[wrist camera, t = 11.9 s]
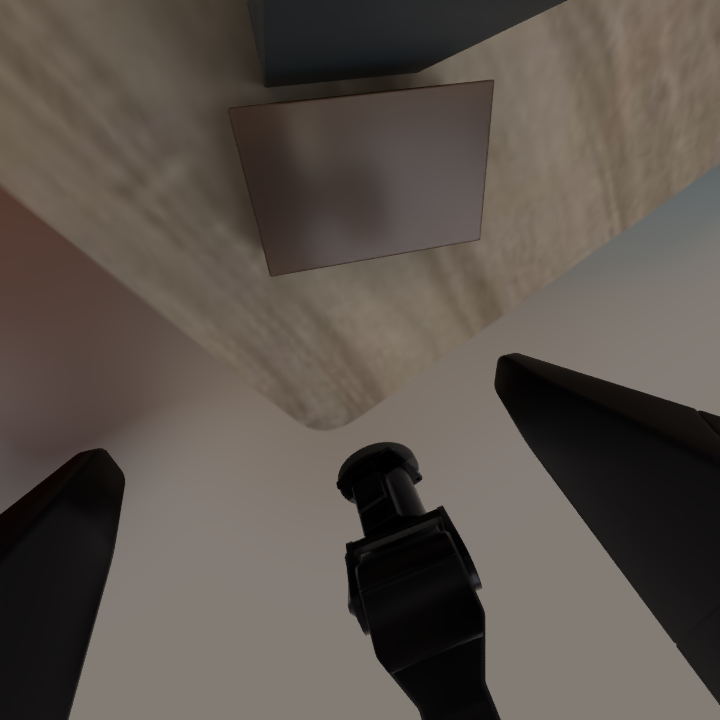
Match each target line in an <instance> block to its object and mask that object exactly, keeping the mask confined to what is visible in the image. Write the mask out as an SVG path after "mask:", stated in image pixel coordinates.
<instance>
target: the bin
mask: <svg viewBox="0 0 720 720" xmlns="http://www.w3.org/2000/svg"><path fill="white" fill-rule="evenodd" d="M565 1H567V0H247V2H248V7H249V12H250V17H251V22H252V27H253V32H254V37H255V42H256V47H257V52H258V57H259V60H260V66H261V71H262V76H263V81H264V86H265V87H266V88H268V87H278V86H288V85H298V84H308V83H318V82H327V81H337V80H347V79H357V78H367V77H377V76H387V75H397V74H407V73H417V72H420V71H422V70H424V69H426V68H428V67H430V66H432V65H434V64H436V63H438V62H440V61H442V60H444V59H446V58H449V57H451V56H453V55H455V54H457V53H459V52H461V51H463V50H465V49H467V48H469V47H471V46H473V45H475V44H478V43H480V42H482V41H484V40H486V39H488V38H490V37H492V36H494V35H496V34H498V33H500V32H502V31H504V30H507V29H509V28H511V27H513V26H515V25H517V24H519V23H521V22H523V21H525V20H527V19H529V18H531V17H533V16H536V15H538V14H540V13H542V12H544V11H546V10H548V9H550V8H552V7H554V6H556V5H558V4H560V3H562V2H565Z"/></svg>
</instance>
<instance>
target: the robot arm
mask: <svg viewBox="0 0 720 720" xmlns="http://www.w3.org/2000/svg"><path fill="white" fill-rule="evenodd" d="M494 383H495V384H494V385H495V389H496V392H497V394H498V396H499V397H500V399H501V401H502V403H503V404H504V406H505V408H506V409H507V411H508V413H509V415H510V416H511V418H512V420H513V421H514V423H515V425H516V427H517V428H518V430H519V432H520V433H521V435H522V437H523V438H524V440H525V441H526V443H527V444H528V446H529V447H530V448H531V450H532V451H533V452H534V454H535V455H536V457H537V458H538V459H539V461H540V462H541V464H542V465H543V466H544V468H545V469H546V470H547V472H548V473H549V474H550V475H551V477H552V478H553V480H554V481H555V482H556V484H557V485H558V486H559V488H560V489H561V490H562V492H563V493H564V495H565V496H566V497H567V499H568V500H569V501H570V503H571V504H572V505H573V507H574V508H575V509H576V511H577V512H578V514H579V515H580V516H581V518H582V519H583V520H584V522H585V523H586V524H587V526H588V527H589V528H590V530H591V531H592V532H593V534H594V535H595V536H596V538H597V539H598V540H599V542H600V543H601V544H602V546H603V547H604V549H605V550H606V551H607V553H608V554H609V555H610V557H611V558H612V560H613V561H614V562H615V564H616V565H617V566H618V568H619V569H620V570H621V572H622V573H623V574H624V575H625V577H626V578H627V580H628V581H629V582H630V584H631V585H632V587H633V588H634V589H635V590H636V592H637V593H638V594H639V596H640V597H641V599H642V600H643V601H644V603H645V604H646V605H647V607H648V608H649V609H650V611H651V612H652V614H653V615H654V616H655V618H656V619H657V620H658V622H659V623H660V624H661V626H662V627H663V628H664V630H665V631H666V633H667V634H668V635H669V636H670V638H671V639H672V641H673V642H674V643H676V646H677V648H678V649H679V650H680V652H681V653H682V655H683V656H684V657H685V658H686V660H687V661H688V663H689V664H690V665H691V667H692V668H693V669H694V671H695V672H696V674H697V675H698V676H699V678H700V679H701V680H702V682H703V683H704V684H705V686H706V687H707V688H708V690H709V691H710V692H711V694H712V695H713V697H714V698H715V699H716V701H717V702H718V703H719V705H720V416H716V415H713V414H710V413H707V412H704V411H697V410H695V409H694V408H690V407H688V406H684V405H681V404H678V403H675V402H672V401H668V400H665V399H662V398H659V397H656V396H652V395H649V394H646V393H643V392H640V391H637V390H633V389H630V388H627V387H624V386H621V385H617V384H614V383H611V382H608V381H605V380H602V379H598V378H595V377H592V376H589V375H586V374H582V373H579V372H576V371H573V370H570V369H567V368H563V367H560V366H557V365H554V364H551V363H547V362H544V361H541V360H538V359H535V358H532V357H528V356H525V355H522V354H519V353H512V354H507V355H503V356H501V357H500V358H499V359H498V362H497V368H496V375H495V382H494ZM387 452H388V453H387ZM421 480H422V476H421V474H420V473H419V472H418V471H417V470H416V469H415V468H414V467H413V466H412V465H411V464H410V463H408V462H407V461H406V460H405V459H404V458H403V457H402V456H401V455H400V454H398V453H397V452H396V451H395V450H394V449H393V448H392V447H386V448H384V449H383V450H381V451H380V452H378V453H377V454H375V455H374V456H373V457H371V458H370V459H368V460H367V461H365V462H364V463H363V464H361V465H360V466H358V467H357V468H355V469H354V470H352V471H351V472H350V473H348V474H347V475H345V476H344V477H342V478H341V479H339V480H338V481H337V483H336V485H337V488H338V489H339V490H340V491H342V492H343V493H345V494H346V495H348V496H349V497H351V498H352V499H354V500H355V502H356V506H357V510H358V513H359V517H360V521H361V525H362V529H363V533H364V536H365V538H362V539H360V540H357V541H355V542H352V541H351V542H349V543H346V550H347V553H346V556H345V561H346V566H347V574H348V583H349V584H348V608H349V612H350V613H351V614H352V615H354V616H355V617H356V618H357V620H358V622H359V624H360V626H361V628H362V630H363V632H364V634H365V635H369V634H370V635H371V639H372V643H373V646H374V650H375V654H376V657H377V659H378V660H379V662H380V663H381V664H382V665H383V667H384V668H385V669H386V670H387V672H388V673H389V674H390V675H391V676H392V677H393V679H394V680H395V681H396V682H397V684H398V685H399V686H400V687H401V689H402V690H403V691H404V692H405V693H406V695H407V696H408V697H409V698H410V700H411V701H412V702H413V703H414V704H415V706H416V707H417V708H418V710H419V712H420V715H421V719H422V720H501V719H500V717H499V715H498V712H497V709H496V707H495V704H494V702H493V700H492V697H491V695H490V692H489V690H488V687H487V685H486V682H485V612H484V609H483V607H482V605H481V602H480V600H479V598H478V595H477V593H476V591H477V590H479V589H481V588H482V585H481V582H480V579H479V576H478V573H477V571H476V568H475V566H474V563H473V561H472V559H471V557H470V555H469V552H468V550H467V549H466V547H465V545H464V543H463V541H462V539H461V538H460V535H459V534H458V532H457V530H456V528H455V527H454V525H453V523H452V522H451V520H450V518H449V516H448V514H447V512H446V511H445V509H444V507H443V506H440V507H437V509H435V510H433V511H430V512H428V513H426V511H425V509H424V506H423V504H422V502H421V500H420V498H419V495H418V493H417V490H416V488H415V486H414V485H415V484H417V483H418V482H420V481H421ZM124 487H125V478H124V474H123V472H122V470H121V469H120V468H119V467H118V465H117V464H116V462H115V461H114V460H113V459H112V457H111V456H110V455H109V453H108V452H107V451H106V450H104V449H102V448H97V449H93V450H88V451H84V452H81V453H78V454H77V455H75V456H74V457H73V458H72V459H70V460H69V461H68V462H66V463H65V464H64V465H63V466H61V467H60V468H59V469H58V470H56V471H55V472H54V473H52V474H51V475H50V476H49V477H48V478H46V479H45V480H44V481H42V482H41V483H40V484H38V485H37V486H36V487H35V488H33V489H32V490H31V491H30V492H28V493H27V494H26V495H24V496H23V497H22V498H21V499H19V500H18V501H17V502H16V503H14V504H13V505H12V506H11V507H9V508H8V509H7V510H5V511H4V512H3V513H2V514H0V720H68V719H69V716H70V712H71V708H72V705H73V701H74V697H75V694H76V690H77V686H78V683H79V679H80V676H81V672H82V668H83V665H84V661H85V657H86V654H87V650H88V646H89V643H90V639H91V635H92V632H93V628H94V624H95V621H96V617H97V614H98V609H99V606H100V602H101V599H102V595H103V592H104V587H105V584H106V581H107V577H108V573H109V569H110V566H111V562H112V558H113V554H114V549H115V543H116V537H117V531H118V525H119V518H120V512H121V505H122V500H123V494H124Z"/></svg>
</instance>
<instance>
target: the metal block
mask: <svg viewBox="0 0 720 720" xmlns="http://www.w3.org/2000/svg"><path fill="white" fill-rule="evenodd" d="M493 89H494V80H484V81H474V82H465V83H456V84H446V85H437V86H427V87H418V88H409V89H399V90H390V91H381V92H371V93H362V94H352V95H343V96H334V97H324V98H315V99H305V100H296V101H287V102H277V103H268V104H258V105H249V106H240V107H230V108H228V113H229V117H230V121H231V125H232V129H233V133H234V137H235V141H236V145H237V149H238V152H239V156H240V160H241V164H242V168H243V172H244V176H245V180H246V184H247V187H248V191H249V195H250V199H251V203H252V207H253V211H254V215H255V219H256V222H257V226H258V230H259V234H260V238H261V242H262V246H263V250H264V254H265V257H266V261H267V265H268V269H269V273H270V276H277V275H283V274H289V273H295V272H300V271H306V270H312V269H317V268H323V267H329V266H334V265H340V264H346V263H351V262H357V261H363V260H368V259H374V258H380V257H386V256H391V255H397V254H403V253H408V252H414V251H420V250H425V249H431V248H437V247H442V246H448V245H454V244H460V243H465V242H471V241H477V240H480V233H481V222H482V211H483V200H484V189H485V178H486V167H487V155H488V144H489V133H490V122H491V111H492V100H493Z"/></svg>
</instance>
